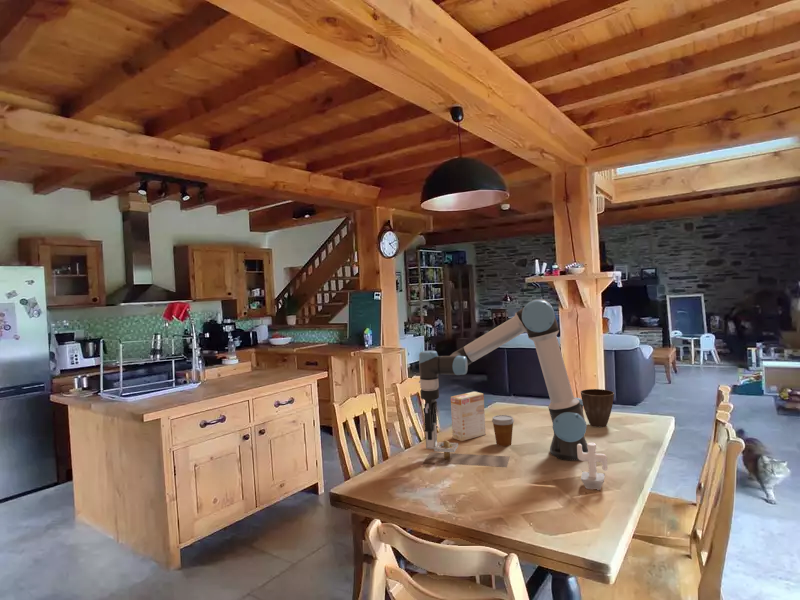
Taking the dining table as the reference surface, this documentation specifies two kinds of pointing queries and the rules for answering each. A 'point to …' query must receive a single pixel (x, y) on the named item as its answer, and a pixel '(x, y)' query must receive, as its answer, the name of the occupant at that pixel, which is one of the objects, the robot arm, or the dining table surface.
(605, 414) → the plant pot
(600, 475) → the figurine
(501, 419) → the disposable coffee cup
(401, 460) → the dining table surface
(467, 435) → the coffeecake box
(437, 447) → the tie down link
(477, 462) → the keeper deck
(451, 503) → the dining table surface
